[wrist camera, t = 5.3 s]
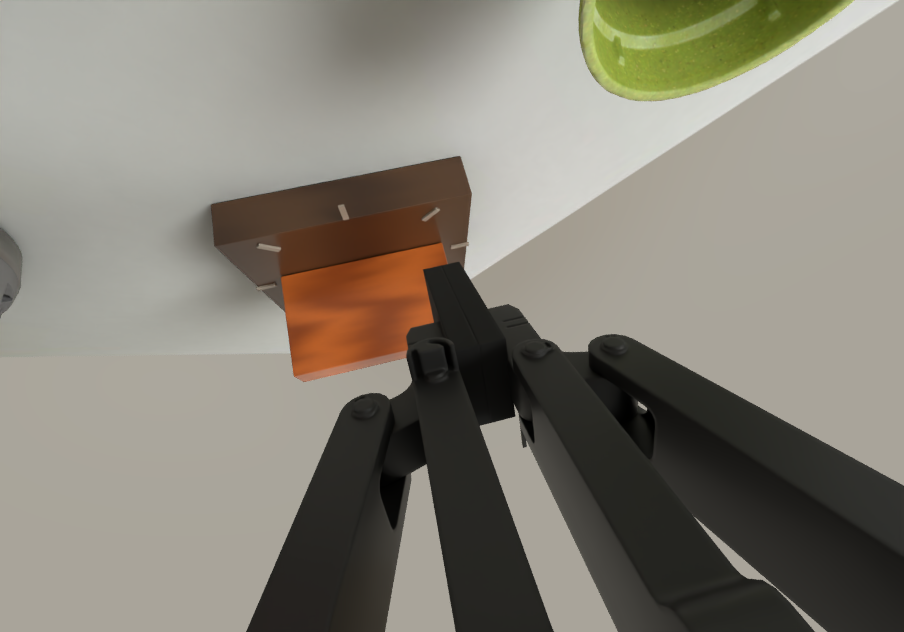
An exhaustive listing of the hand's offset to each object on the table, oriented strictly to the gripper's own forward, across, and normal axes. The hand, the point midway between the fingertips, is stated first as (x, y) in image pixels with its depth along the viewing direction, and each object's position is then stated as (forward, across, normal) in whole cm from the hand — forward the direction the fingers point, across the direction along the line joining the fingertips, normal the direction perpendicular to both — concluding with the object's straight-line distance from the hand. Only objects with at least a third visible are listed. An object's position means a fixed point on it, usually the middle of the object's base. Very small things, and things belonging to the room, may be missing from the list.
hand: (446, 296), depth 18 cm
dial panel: (+18, -4, -1) cm, 18 cm away
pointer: (+16, -4, -3) cm, 16 cm away
